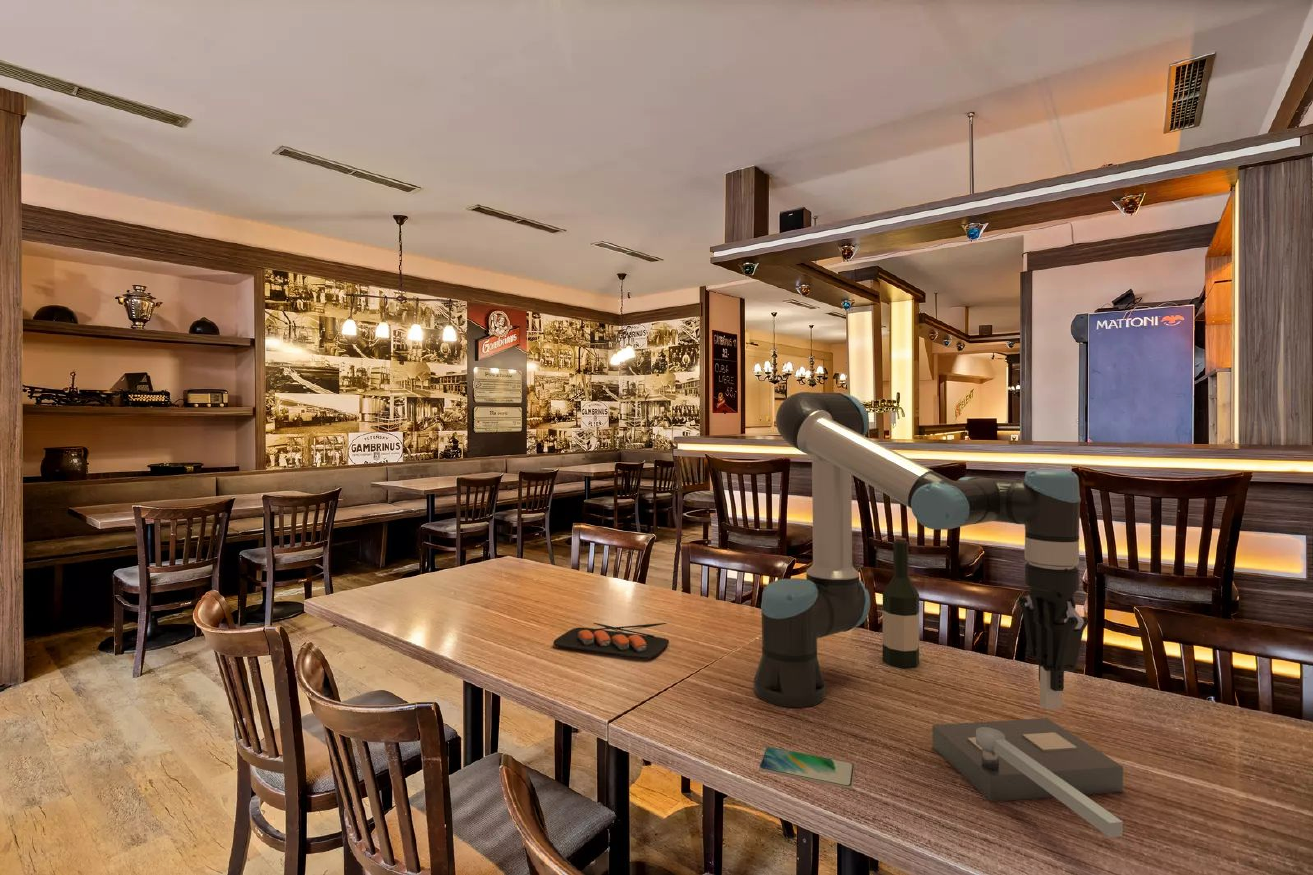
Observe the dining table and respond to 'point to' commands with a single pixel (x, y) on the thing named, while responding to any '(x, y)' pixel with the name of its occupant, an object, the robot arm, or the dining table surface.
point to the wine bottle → (900, 613)
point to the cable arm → (1050, 782)
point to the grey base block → (1038, 742)
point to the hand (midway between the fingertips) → (1050, 706)
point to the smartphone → (808, 767)
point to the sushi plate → (613, 641)
